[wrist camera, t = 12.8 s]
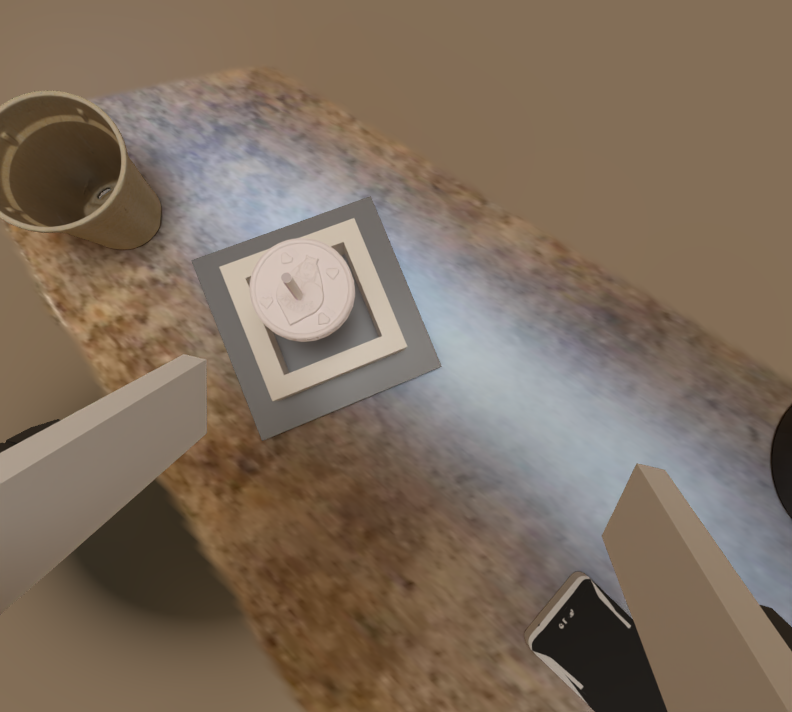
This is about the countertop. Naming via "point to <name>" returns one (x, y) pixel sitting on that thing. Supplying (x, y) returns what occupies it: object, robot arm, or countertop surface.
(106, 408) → the robot arm
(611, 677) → the smartphone
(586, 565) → the countertop surface
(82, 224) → the flower pot
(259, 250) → the socket
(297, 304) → the smoothie
